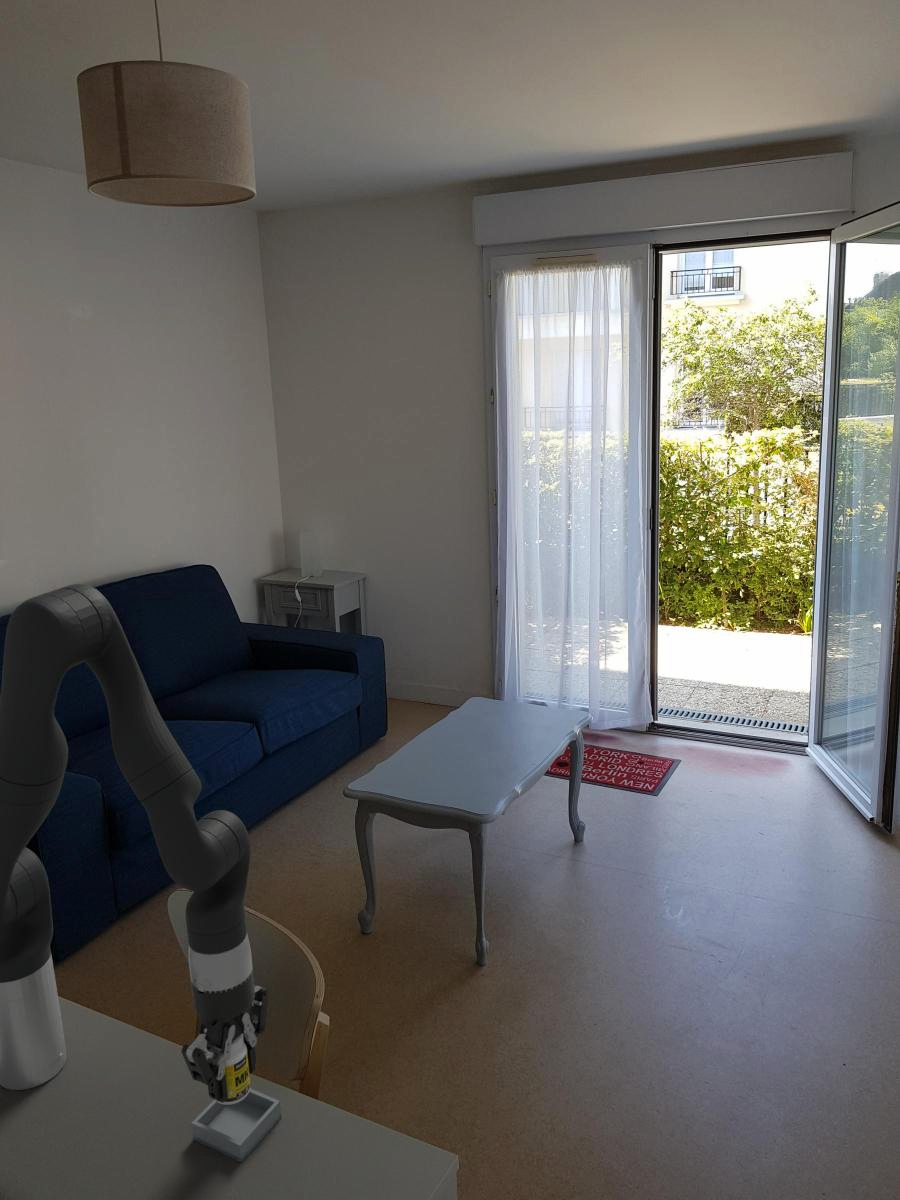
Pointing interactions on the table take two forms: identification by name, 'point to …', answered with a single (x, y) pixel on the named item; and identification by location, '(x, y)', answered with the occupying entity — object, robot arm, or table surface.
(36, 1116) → the table surface
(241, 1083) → the supplement bottle
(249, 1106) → the tray
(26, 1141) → the table surface
